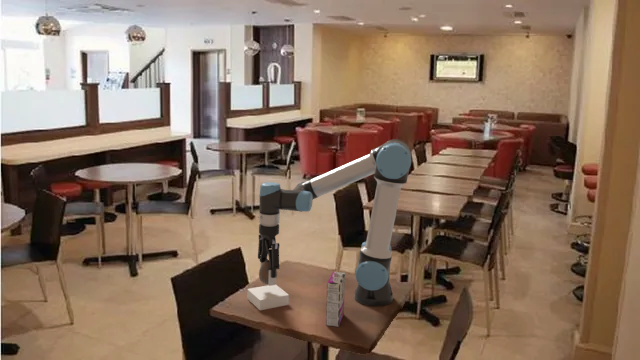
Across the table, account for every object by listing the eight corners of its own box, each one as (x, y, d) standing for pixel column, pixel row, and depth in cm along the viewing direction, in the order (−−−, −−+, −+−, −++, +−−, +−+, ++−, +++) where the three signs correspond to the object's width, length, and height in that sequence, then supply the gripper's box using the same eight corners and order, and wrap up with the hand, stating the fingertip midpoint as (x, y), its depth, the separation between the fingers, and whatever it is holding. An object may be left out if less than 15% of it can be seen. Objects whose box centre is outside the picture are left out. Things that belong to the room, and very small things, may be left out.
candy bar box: (330, 312, 215) (332, 271, 212) (344, 314, 214) (345, 272, 211) (324, 325, 204) (326, 282, 201) (338, 327, 203) (340, 283, 200)
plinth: (288, 304, 221) (288, 294, 220) (259, 310, 215) (259, 300, 214) (275, 293, 231) (275, 284, 230) (247, 298, 225) (247, 288, 224)
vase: (279, 280, 224) (280, 259, 222) (273, 287, 217) (273, 264, 215) (262, 278, 226) (263, 256, 224) (255, 284, 219) (256, 262, 217)
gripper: (249, 218, 223) (248, 274, 228) (271, 231, 206) (269, 292, 211) (267, 216, 227) (266, 271, 231) (290, 229, 210) (288, 289, 215)
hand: (267, 281), depth 221 cm, fingers closed on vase, 7 cm apart
